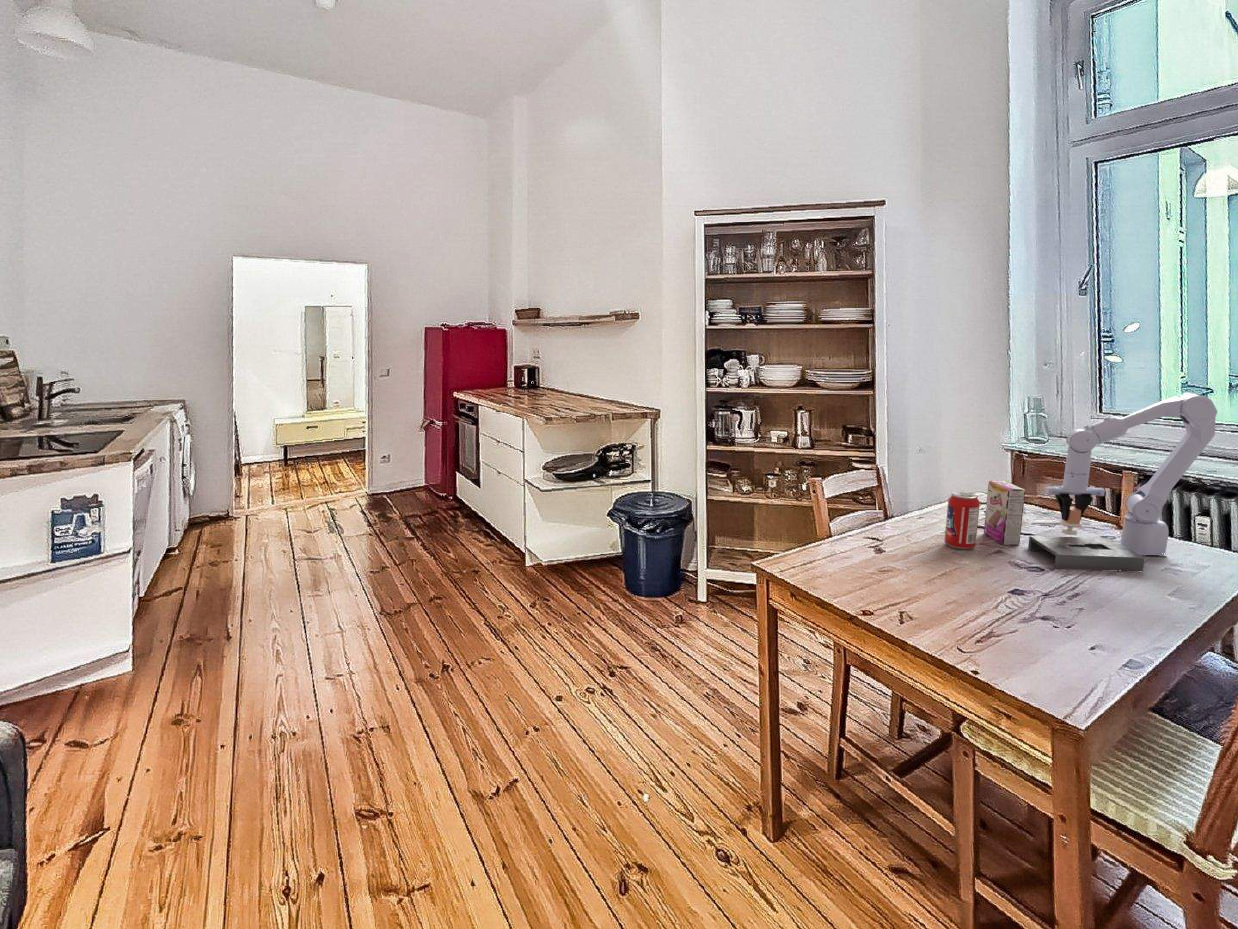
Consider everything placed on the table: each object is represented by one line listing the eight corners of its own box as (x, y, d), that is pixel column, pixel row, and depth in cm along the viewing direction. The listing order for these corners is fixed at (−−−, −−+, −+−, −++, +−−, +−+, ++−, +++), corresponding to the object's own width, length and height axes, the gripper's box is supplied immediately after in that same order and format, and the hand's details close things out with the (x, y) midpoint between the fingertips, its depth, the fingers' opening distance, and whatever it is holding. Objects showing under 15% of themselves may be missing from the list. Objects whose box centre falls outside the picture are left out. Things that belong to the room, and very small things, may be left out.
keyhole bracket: (1106, 551, 183) (1108, 538, 183) (1142, 572, 168) (1145, 557, 167) (1028, 548, 186) (1029, 535, 185) (1056, 568, 170) (1058, 554, 170)
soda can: (972, 552, 183) (977, 499, 180) (941, 547, 188) (946, 495, 185) (977, 545, 189) (982, 493, 186) (947, 540, 194) (952, 490, 191)
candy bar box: (982, 533, 200) (987, 480, 197) (998, 533, 200) (1004, 480, 196) (1002, 545, 189) (1008, 489, 186) (1020, 545, 189) (1026, 489, 186)
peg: (1074, 530, 192) (1077, 506, 190) (1084, 536, 186) (1088, 511, 185) (1054, 529, 192) (1057, 505, 191) (1064, 535, 187) (1067, 510, 186)
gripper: (1097, 470, 189) (1091, 516, 192) (1041, 469, 191) (1036, 515, 193) (1111, 475, 182) (1105, 523, 185) (1054, 474, 184) (1048, 522, 187)
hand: (1070, 519), depth 189 cm, fingers closed on peg, 3 cm apart
